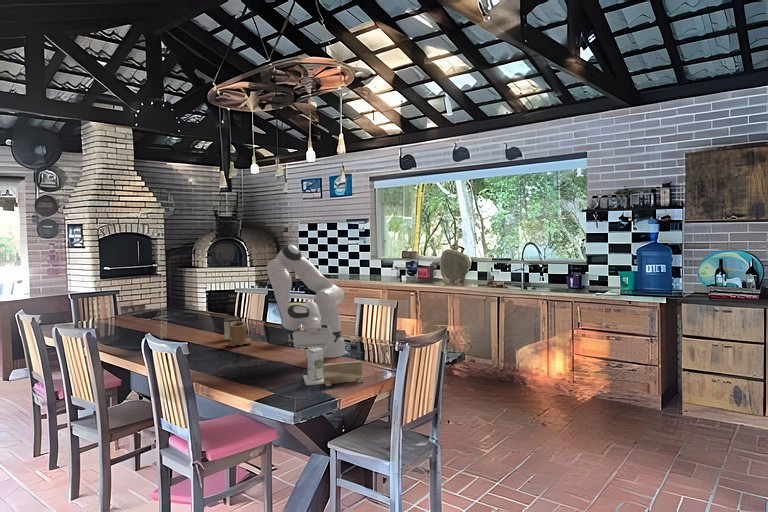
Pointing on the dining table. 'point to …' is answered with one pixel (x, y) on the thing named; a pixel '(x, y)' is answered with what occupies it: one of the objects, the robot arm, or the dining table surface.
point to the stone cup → (238, 334)
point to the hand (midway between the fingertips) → (314, 352)
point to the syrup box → (315, 363)
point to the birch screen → (342, 372)
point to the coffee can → (227, 325)
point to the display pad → (312, 381)
